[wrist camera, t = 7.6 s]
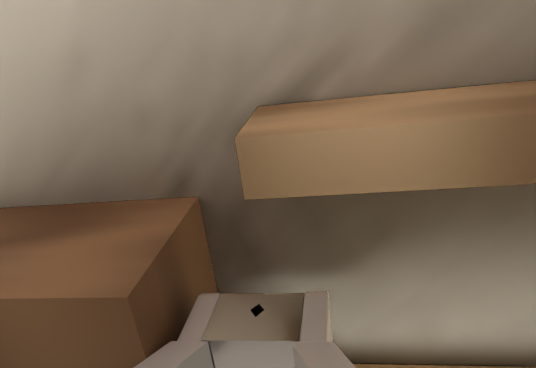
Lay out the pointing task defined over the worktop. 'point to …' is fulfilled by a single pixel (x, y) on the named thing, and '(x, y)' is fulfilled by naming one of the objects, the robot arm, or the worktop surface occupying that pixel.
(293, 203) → the worktop surface
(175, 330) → the block
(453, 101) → the oak shelf rails
